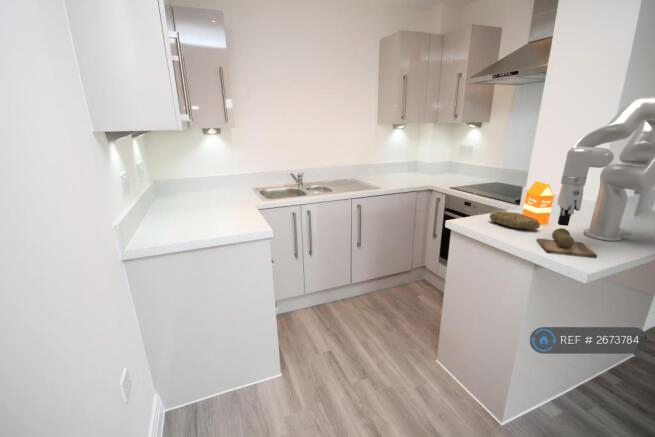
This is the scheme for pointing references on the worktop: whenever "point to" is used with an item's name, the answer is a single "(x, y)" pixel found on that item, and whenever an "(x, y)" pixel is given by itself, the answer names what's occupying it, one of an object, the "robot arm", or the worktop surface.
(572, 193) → the robot arm
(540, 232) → the worktop surface
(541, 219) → the orange juice
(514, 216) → the sponge
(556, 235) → the cork
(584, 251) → the walnut board
